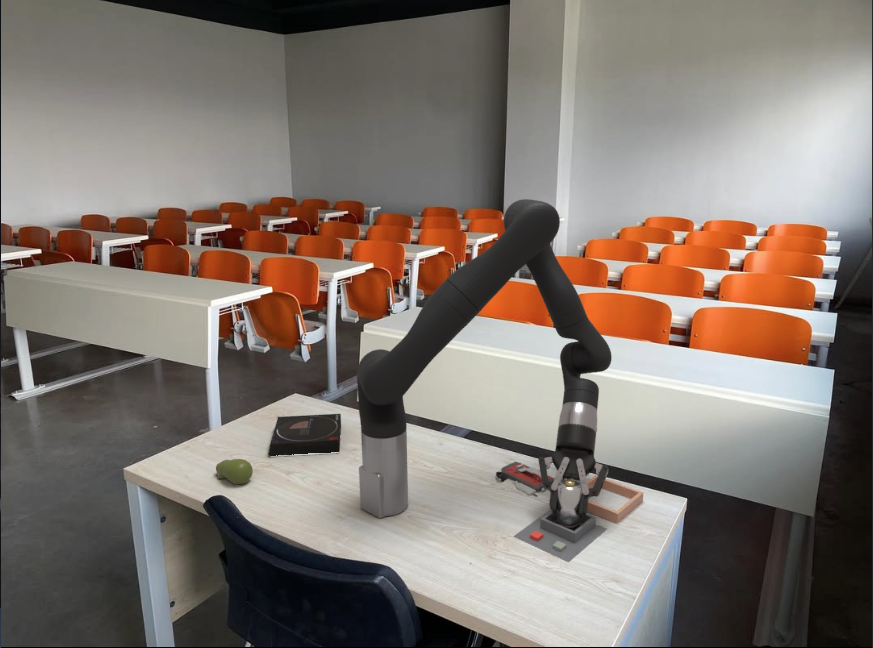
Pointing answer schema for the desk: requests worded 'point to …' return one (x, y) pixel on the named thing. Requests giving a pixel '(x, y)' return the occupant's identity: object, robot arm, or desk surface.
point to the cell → (568, 504)
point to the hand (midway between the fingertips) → (567, 513)
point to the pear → (235, 470)
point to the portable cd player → (306, 435)
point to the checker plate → (560, 535)
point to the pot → (618, 489)
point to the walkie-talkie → (523, 478)
